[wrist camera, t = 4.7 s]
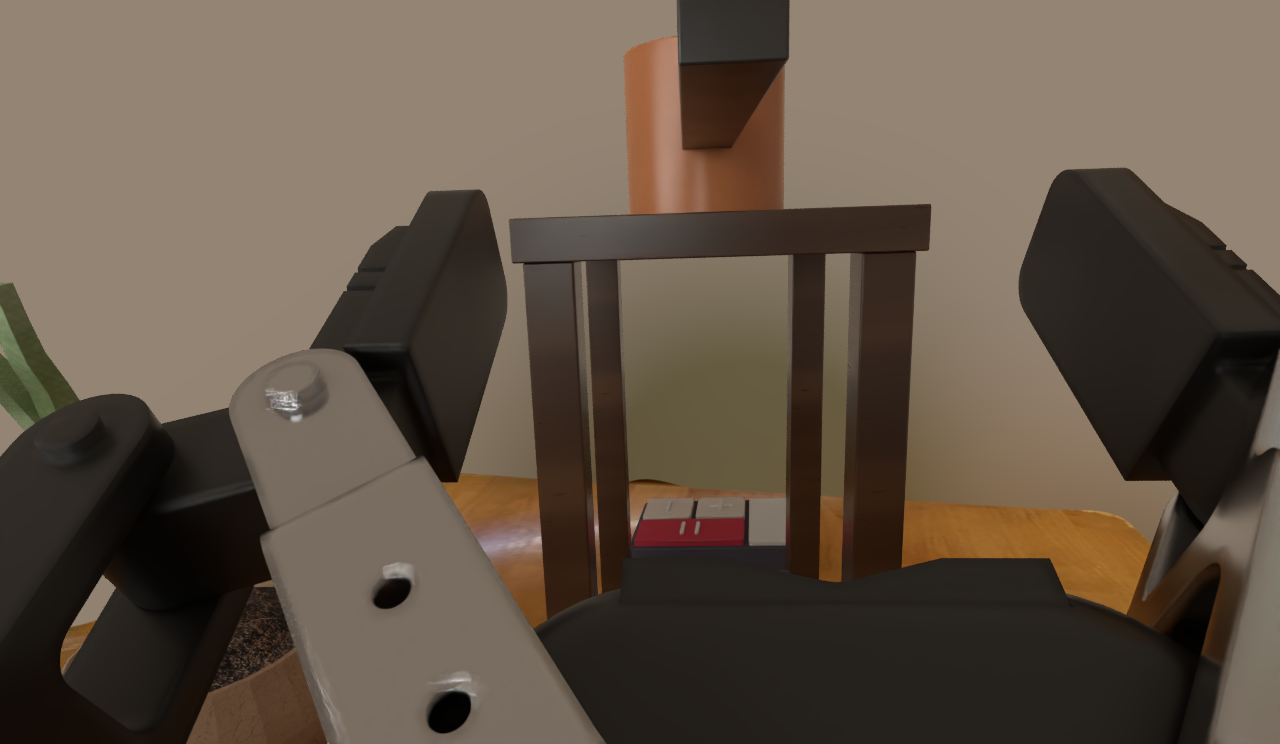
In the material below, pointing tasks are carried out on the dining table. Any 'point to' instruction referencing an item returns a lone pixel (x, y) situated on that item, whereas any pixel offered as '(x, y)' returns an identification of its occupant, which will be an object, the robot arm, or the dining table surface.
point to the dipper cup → (709, 110)
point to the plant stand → (873, 374)
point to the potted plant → (262, 643)
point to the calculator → (713, 530)
